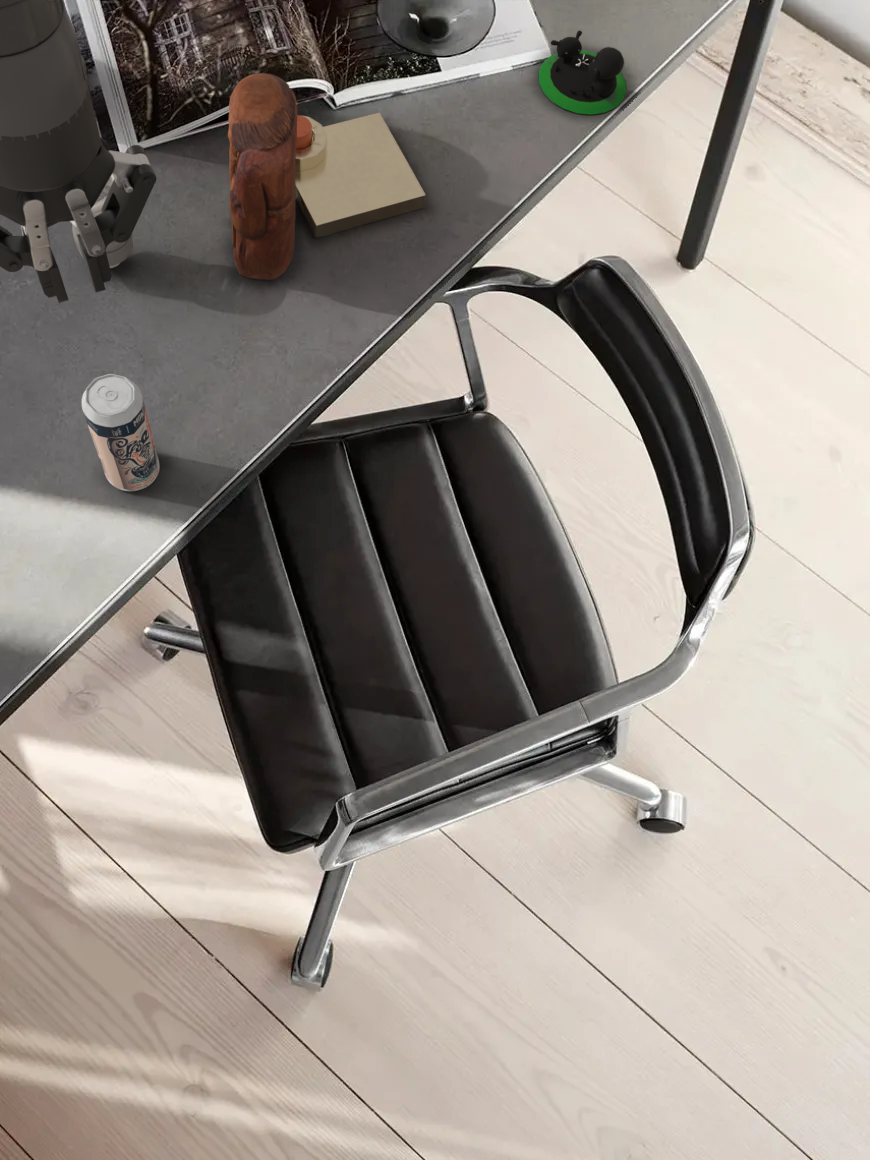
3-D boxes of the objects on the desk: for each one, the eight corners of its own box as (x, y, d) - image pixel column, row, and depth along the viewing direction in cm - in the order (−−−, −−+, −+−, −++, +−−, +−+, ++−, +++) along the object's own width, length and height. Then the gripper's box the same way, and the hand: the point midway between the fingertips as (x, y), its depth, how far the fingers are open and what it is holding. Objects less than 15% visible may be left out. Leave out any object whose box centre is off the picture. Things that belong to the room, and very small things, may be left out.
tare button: (277, 132, 114) (277, 118, 113) (305, 125, 115) (305, 111, 113) (288, 153, 113) (288, 140, 111) (316, 146, 114) (316, 132, 112)
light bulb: (129, 292, 108) (108, 202, 97) (72, 280, 108) (44, 188, 97) (147, 248, 110) (128, 155, 100) (91, 236, 110) (66, 141, 100)
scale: (260, 149, 117) (259, 122, 114) (375, 119, 120) (376, 93, 117) (306, 241, 113) (306, 216, 109) (424, 208, 116) (427, 183, 113)
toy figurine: (580, 37, 128) (591, -8, 123) (644, 88, 126) (659, 44, 121) (519, 75, 125) (529, 30, 120) (584, 128, 122) (597, 84, 117)
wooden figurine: (239, 191, 115) (225, 40, 98) (302, 196, 115) (299, 47, 99) (228, 283, 110) (212, 141, 93) (294, 288, 110) (289, 147, 94)
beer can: (139, 503, 99) (116, 429, 88) (94, 477, 99) (66, 402, 89) (171, 463, 101) (153, 386, 90) (126, 438, 101) (103, 359, 90)
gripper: (117, 9, 65) (157, 221, 80) (-130, 63, 61) (-38, 273, 77) (159, 99, 62) (192, 300, 78) (-96, 161, 59) (-8, 358, 74)
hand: (77, 286), depth 77 cm, fingers closed
